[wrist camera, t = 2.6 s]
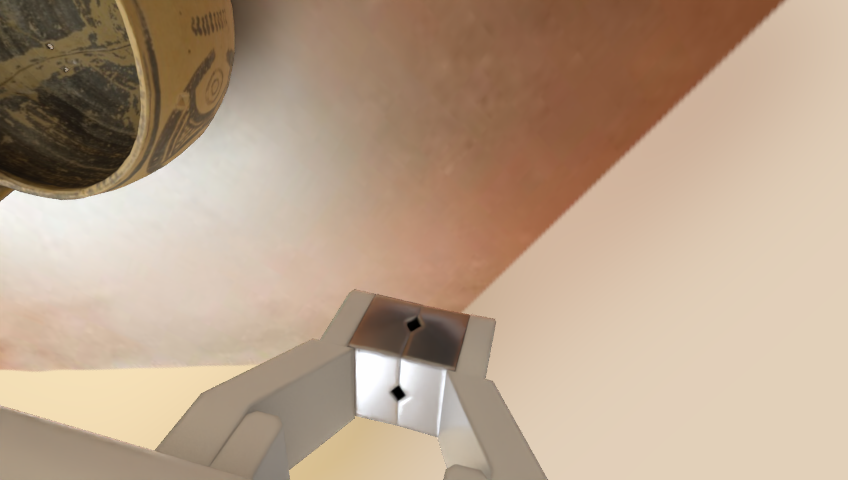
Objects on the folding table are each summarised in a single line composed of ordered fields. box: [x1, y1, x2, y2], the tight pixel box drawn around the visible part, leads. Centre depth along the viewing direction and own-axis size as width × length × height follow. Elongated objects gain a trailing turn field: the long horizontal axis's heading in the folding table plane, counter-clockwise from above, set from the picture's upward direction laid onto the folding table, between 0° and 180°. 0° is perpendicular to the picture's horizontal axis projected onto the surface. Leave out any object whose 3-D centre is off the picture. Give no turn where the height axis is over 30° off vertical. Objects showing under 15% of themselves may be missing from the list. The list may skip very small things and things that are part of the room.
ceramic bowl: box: [0, 0, 235, 201], centre depth 22 cm, size 22×17×15 cm
